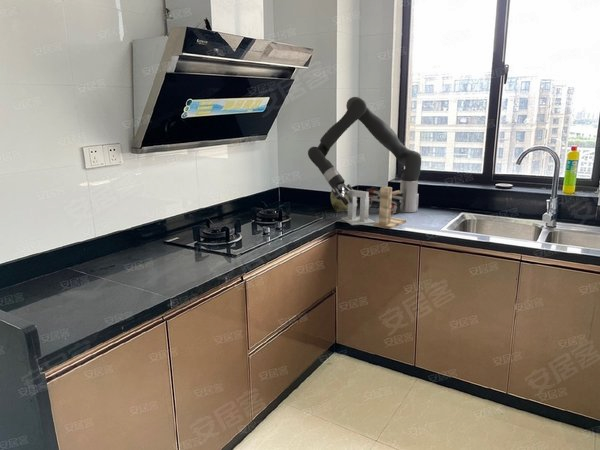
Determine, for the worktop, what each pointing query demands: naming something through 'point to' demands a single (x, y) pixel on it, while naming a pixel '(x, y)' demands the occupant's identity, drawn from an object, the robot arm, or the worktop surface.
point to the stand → (387, 209)
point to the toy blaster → (375, 196)
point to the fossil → (339, 203)
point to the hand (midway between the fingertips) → (351, 202)
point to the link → (363, 204)
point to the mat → (357, 221)
